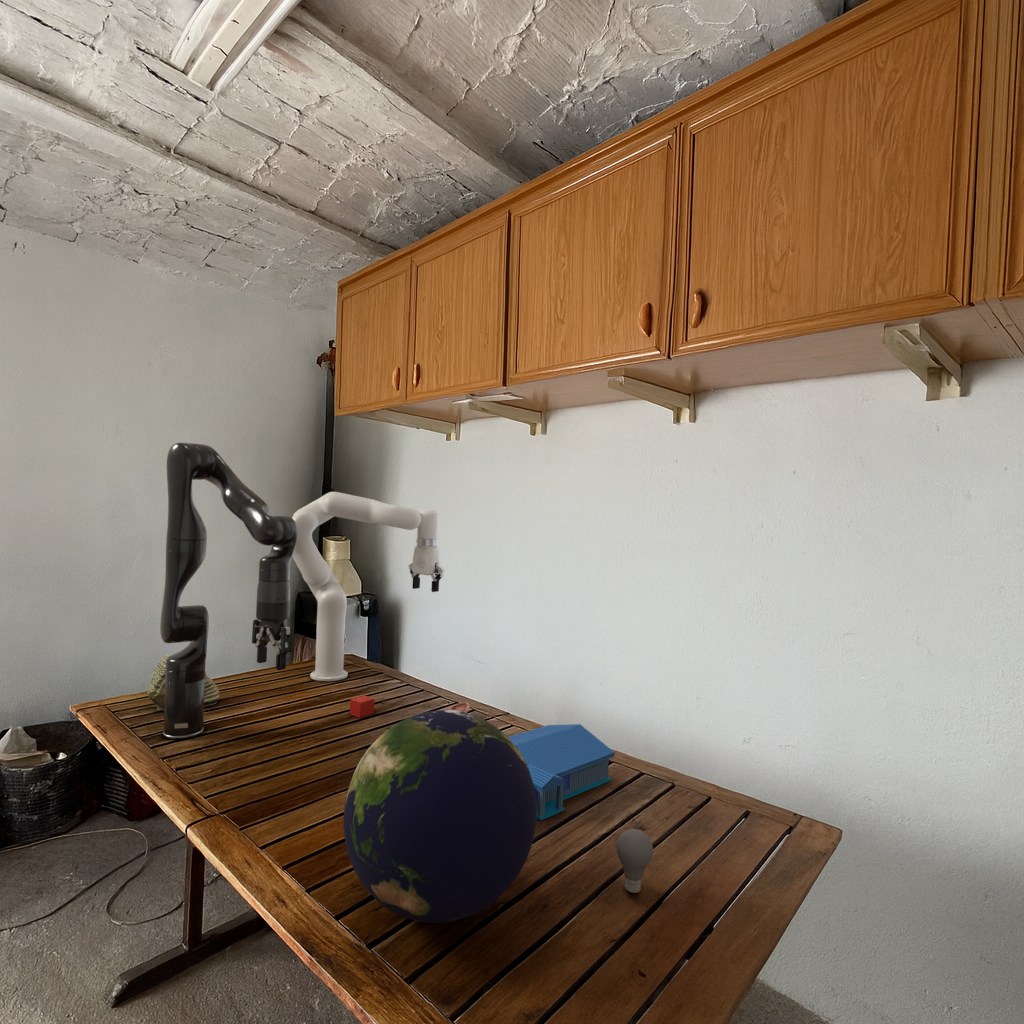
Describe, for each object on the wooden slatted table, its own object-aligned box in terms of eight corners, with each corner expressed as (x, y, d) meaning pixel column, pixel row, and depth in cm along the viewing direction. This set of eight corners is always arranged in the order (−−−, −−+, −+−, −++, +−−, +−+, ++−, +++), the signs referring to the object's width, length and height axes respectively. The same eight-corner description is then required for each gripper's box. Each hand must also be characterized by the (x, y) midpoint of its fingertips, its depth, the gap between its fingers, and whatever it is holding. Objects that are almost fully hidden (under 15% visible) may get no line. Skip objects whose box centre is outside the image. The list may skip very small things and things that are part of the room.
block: (349, 714, 184) (350, 699, 184) (363, 710, 189) (364, 695, 188) (359, 718, 182) (360, 702, 182) (373, 713, 186) (374, 698, 186)
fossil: (144, 707, 182) (145, 655, 182) (212, 696, 194) (213, 647, 194) (151, 716, 175) (153, 662, 175) (221, 703, 188) (223, 653, 188)
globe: (296, 934, 92) (304, 728, 91) (406, 836, 119) (412, 678, 119) (484, 1004, 80) (494, 770, 80) (557, 878, 108) (565, 703, 108)
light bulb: (610, 879, 108) (613, 822, 108) (644, 879, 109) (647, 822, 109) (619, 902, 102) (622, 840, 102) (655, 901, 103) (658, 840, 103)
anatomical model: (417, 708, 179) (430, 696, 190) (416, 722, 179) (430, 710, 191) (462, 714, 177) (473, 701, 188) (461, 728, 177) (472, 715, 188)
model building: (493, 841, 119) (496, 788, 119) (420, 792, 137) (422, 747, 137) (623, 784, 145) (625, 741, 145) (547, 750, 164) (548, 712, 163)
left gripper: (243, 596, 154) (241, 663, 154) (275, 604, 145) (272, 674, 145) (271, 593, 160) (269, 658, 160) (304, 601, 151) (301, 669, 151)
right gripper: (403, 541, 233) (401, 588, 234) (437, 545, 223) (435, 593, 223) (418, 541, 239) (416, 586, 240) (451, 544, 229) (449, 592, 229)
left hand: (271, 666), depth 152 cm, fingers open, 8 cm apart
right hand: (425, 590), depth 231 cm, fingers open, 9 cm apart
